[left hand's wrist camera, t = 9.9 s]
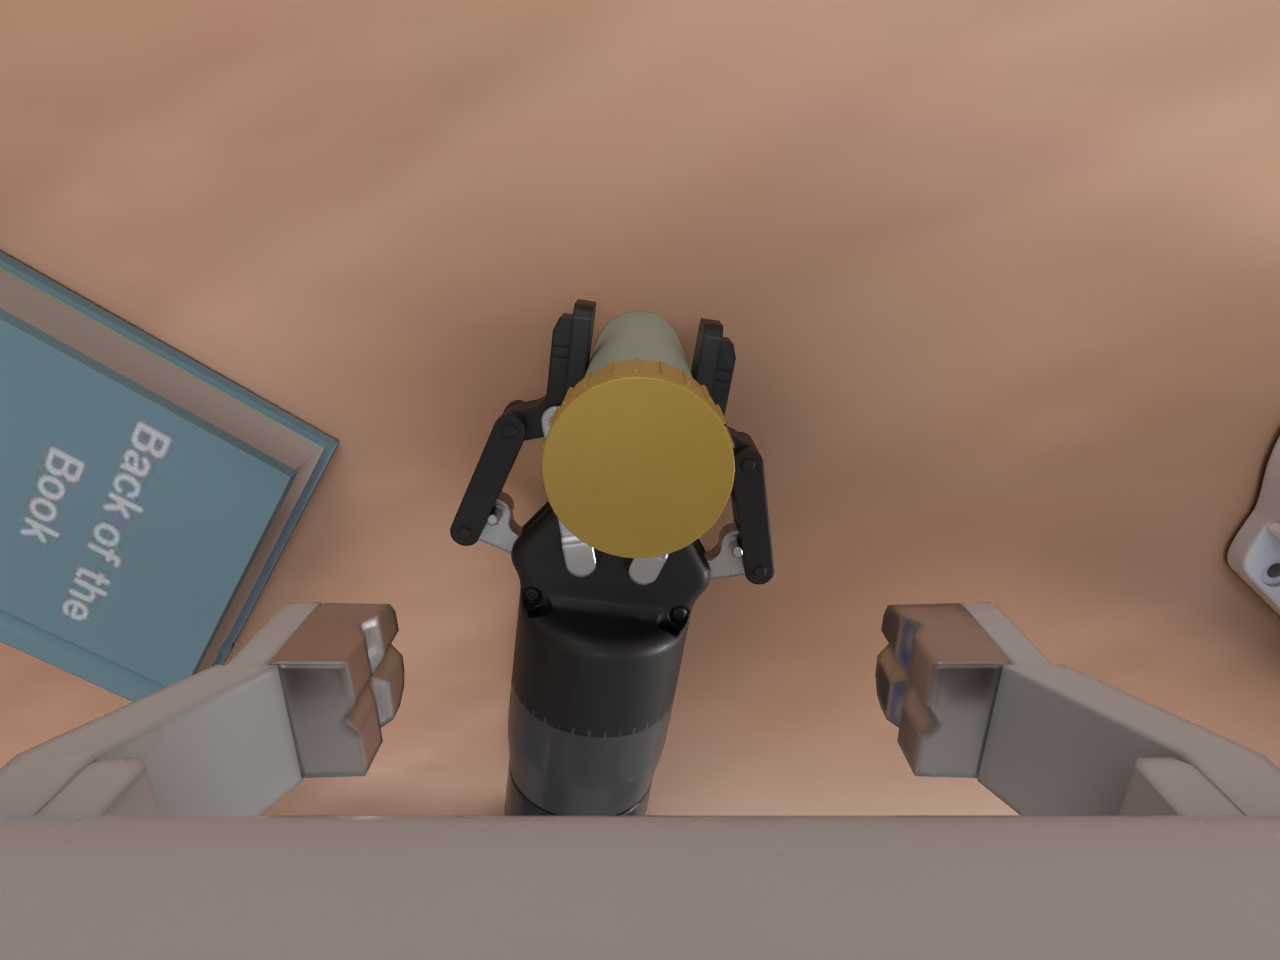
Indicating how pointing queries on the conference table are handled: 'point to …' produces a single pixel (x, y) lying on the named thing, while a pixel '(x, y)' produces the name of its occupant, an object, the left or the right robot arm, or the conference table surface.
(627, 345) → the jar
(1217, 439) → the conference table surface
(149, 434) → the book
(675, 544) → the lid
